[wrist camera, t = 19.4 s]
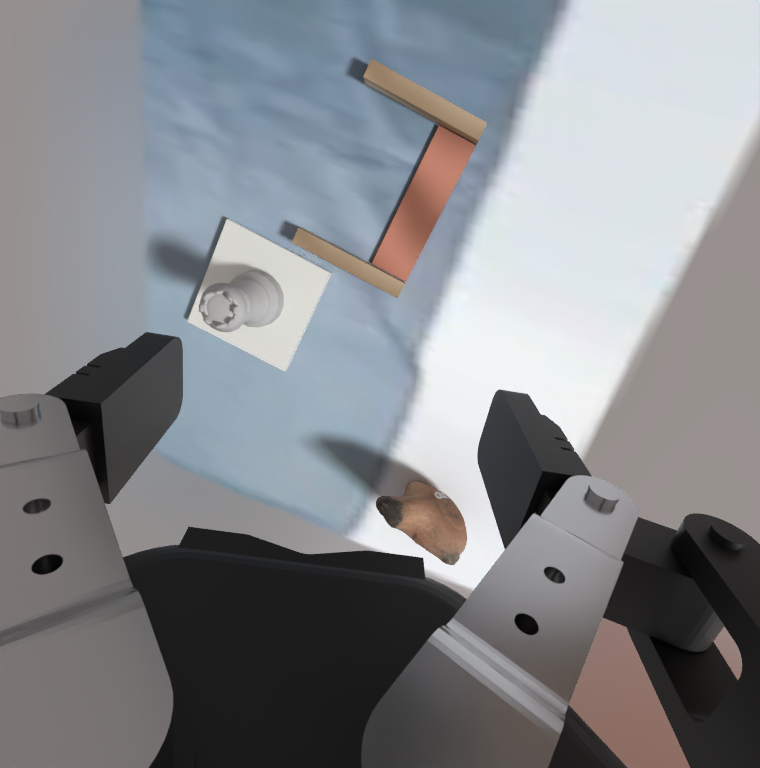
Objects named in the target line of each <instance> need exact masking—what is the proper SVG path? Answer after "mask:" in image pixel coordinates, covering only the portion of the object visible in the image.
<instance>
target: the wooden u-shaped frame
mask: <svg viewBox="0 0 760 768" xmlns="http://www.w3.org/2000/svg"><path fill="white" fill-rule="evenodd" d="M363 78H364V81H365V84H366V85H368V86H370V87H371V88H373V89H375V90H377V91H379V92H381V93H382V94H384V95H386V96H388V97H390V98H391V99H393V100H395V101H397V102H399V103H401V104H402V105H404V106H406V107H408V108H410V109H412V110H413V111H415V112H417V113H419V114H421V115H422V116H424V117H426V118H428V119H430V120H432V121H433V122H435V123H437V124H439V125H441V126H442V127H441V126H438V128H437V131H436V133H435V135H434V137H433V139H432V141H431V143H430V145H429V147H428V149H427V151H426V153H425V155H424V157H423V159H422V161H421V163H420V165H419V167H418V170H417V172H416V174H415V176H414V178H413V180H412V182H411V184H410V186H409V188H408V190H407V192H406V194H405V196H404V198H403V200H402V202H401V204H400V206H399V208H398V211H397V213H396V215H395V217H394V219H393V221H392V223H391V225H390V227H389V229H388V231H387V233H386V235H385V237H384V239H383V241H382V243H381V245H380V247H379V249H378V252H377V254H376V256H375V258H374V260H373V262H372V264H373V265H375V266H377V267H379V268H381V269H383V270H385V271H387V272H389V273H390V274H392V275H394V276H396V277H398V278H400V279H402V280H404V281H406V280H407V278H408V276H409V274H410V272H411V270H412V268H413V266H414V265H415V263H416V261H417V259H418V257H419V255H420V253H421V251H422V249H423V247H424V245H425V243H426V241H427V239H428V237H429V235H430V233H431V232H432V230H433V228H434V226H435V224H436V222H437V220H438V218H439V216H440V214H441V212H442V210H443V208H444V206H445V204H446V202H447V200H448V198H449V197H450V195H451V193H452V191H453V189H454V187H455V185H456V183H457V181H458V179H459V177H460V175H461V173H462V171H463V169H464V167H465V165H466V164H467V162H468V160H469V158H470V156H471V154H472V152H473V150H474V148H475V146H476V144H477V142H478V140H479V138H480V136H481V134H482V132H483V131H484V129H485V127H486V125H487V123H486V122H484V121H483V120H481V119H479V118H477V117H475V116H474V115H472V114H470V113H468V112H466V111H465V110H463V109H461V108H459V107H457V106H455V105H454V104H452V103H450V102H448V101H446V100H445V99H443V98H441V97H439V96H437V95H436V94H434V93H432V92H430V91H428V90H427V89H425V88H423V87H421V86H419V85H418V84H416V83H414V82H412V81H410V80H408V79H407V78H405V77H403V76H401V75H399V74H398V73H396V72H394V71H392V70H390V69H389V68H387V67H385V66H383V65H381V64H380V63H378V62H376V61H374V60H372V59H371V60H370V63H369V65H368V67H367V69H366V72H365V74H364V76H363ZM443 127H444V128H443ZM445 128H446V129H445ZM447 129H448V130H447ZM449 130H450V131H452V132H453V133H452V132H450V131H449ZM454 133H455V134H454ZM456 134H457V135H456ZM458 135H459V136H458ZM460 136H461V137H462V138H461V137H460ZM463 138H464V139H463ZM465 139H466V140H465ZM467 140H468V141H467ZM469 141H470V142H472V143H473V144H472V143H470V142H469ZM474 144H475V145H474ZM292 243H294V244H296V245H298V246H300V247H301V248H303V249H305V250H307V251H309V252H311V253H313V254H315V255H317V256H319V257H320V258H322V259H324V260H326V261H328V262H330V263H332V264H334V265H336V266H338V267H339V268H341V269H343V270H345V271H347V272H349V273H351V274H353V275H355V276H357V277H358V278H360V279H362V280H364V281H366V282H368V283H370V284H372V285H374V286H376V287H377V288H379V289H381V290H383V291H385V292H387V293H389V294H391V295H393V296H395V297H396V298H398V296H399V294H400V292H401V290H402V288H403V286H404V284H405V282H403V281H401V280H400V279H398V278H396V277H394V276H392V275H390V274H388V273H386V272H384V271H383V270H381V269H379V268H377V267H375V266H373V265H371V264H369V263H367V262H366V261H364V260H362V259H360V258H358V257H356V256H354V255H352V254H350V253H349V252H347V251H345V250H343V249H341V248H339V247H337V246H335V245H333V244H331V243H330V242H328V241H326V240H324V239H322V238H320V237H318V236H316V235H314V234H313V233H311V232H309V231H307V230H305V229H303V228H298V229H297V232H296V234H295V236H294V239H293V241H292Z"/></svg>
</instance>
